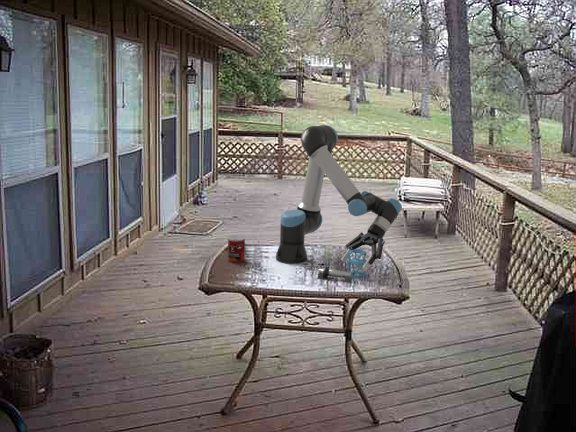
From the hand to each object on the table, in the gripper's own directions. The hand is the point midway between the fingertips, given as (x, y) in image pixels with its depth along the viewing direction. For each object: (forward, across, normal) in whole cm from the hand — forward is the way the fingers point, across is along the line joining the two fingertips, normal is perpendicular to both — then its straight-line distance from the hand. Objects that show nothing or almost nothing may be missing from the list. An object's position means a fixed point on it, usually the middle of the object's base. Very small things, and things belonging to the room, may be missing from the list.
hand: (353, 265), depth 275 cm
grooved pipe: (+10, +2, +3) cm, 11 cm away
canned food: (+25, +49, +17) cm, 57 cm away
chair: (+2, 0, -5) cm, 6 cm away
